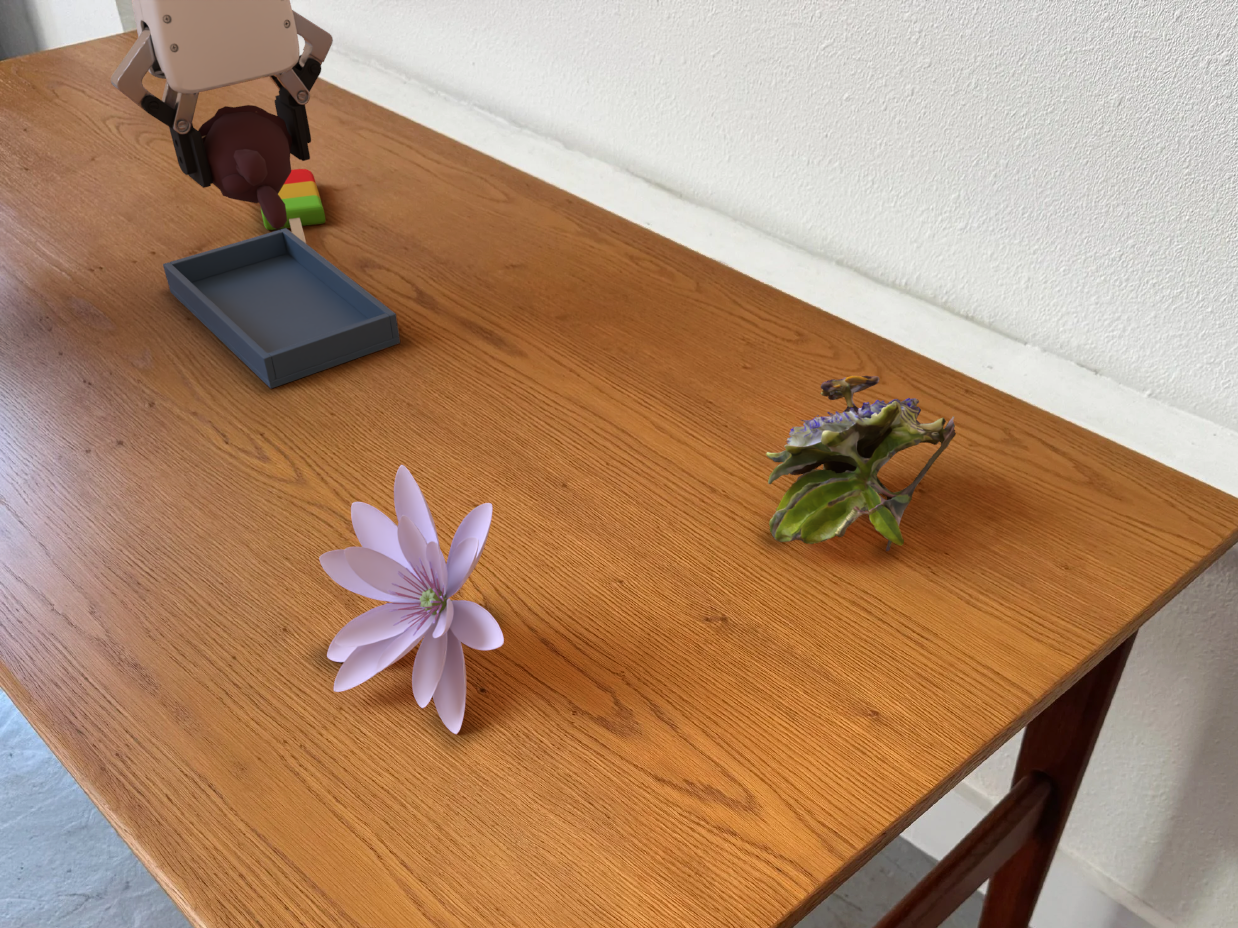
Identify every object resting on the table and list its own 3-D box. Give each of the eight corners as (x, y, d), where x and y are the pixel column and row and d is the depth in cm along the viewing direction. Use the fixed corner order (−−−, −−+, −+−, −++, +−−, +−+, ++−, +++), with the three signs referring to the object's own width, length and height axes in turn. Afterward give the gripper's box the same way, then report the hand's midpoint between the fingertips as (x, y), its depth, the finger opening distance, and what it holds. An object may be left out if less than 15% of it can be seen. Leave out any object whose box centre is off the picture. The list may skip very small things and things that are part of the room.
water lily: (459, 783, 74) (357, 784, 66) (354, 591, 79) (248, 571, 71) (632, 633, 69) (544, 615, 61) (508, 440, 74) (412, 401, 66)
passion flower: (825, 546, 88) (906, 392, 85) (923, 612, 80) (1017, 445, 77) (710, 503, 81) (794, 334, 78) (804, 571, 73) (902, 385, 70)
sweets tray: (270, 389, 93) (263, 358, 91) (170, 292, 104) (162, 263, 102) (400, 343, 98) (396, 313, 96) (291, 255, 109) (286, 227, 107)
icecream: (158, 86, 93) (193, 178, 84) (249, 48, 94) (293, 136, 85) (202, 167, 99) (239, 262, 90) (287, 131, 99) (333, 221, 90)
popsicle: (315, 184, 120) (311, 165, 119) (334, 252, 110) (330, 232, 108) (257, 191, 119) (253, 172, 117) (271, 261, 108) (266, 240, 107)
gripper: (286, -131, 86) (330, 126, 98) (37, -93, 78) (118, 180, 91) (337, -111, 82) (376, 155, 94) (78, -68, 74) (157, 215, 86)
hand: (249, 166), depth 92 cm, fingers closed on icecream, 7 cm apart
